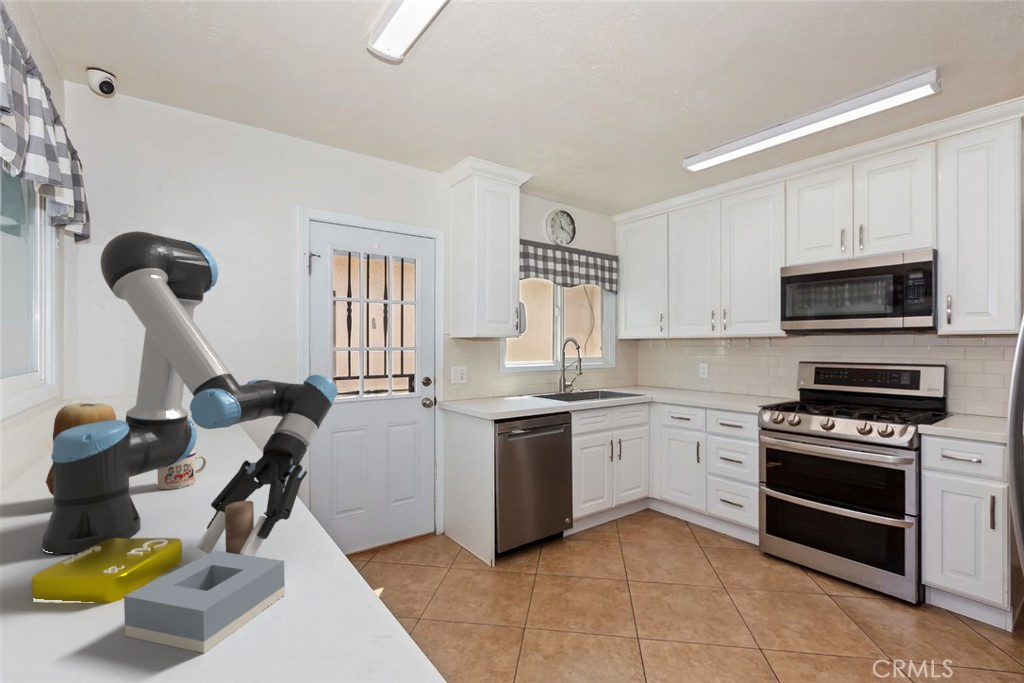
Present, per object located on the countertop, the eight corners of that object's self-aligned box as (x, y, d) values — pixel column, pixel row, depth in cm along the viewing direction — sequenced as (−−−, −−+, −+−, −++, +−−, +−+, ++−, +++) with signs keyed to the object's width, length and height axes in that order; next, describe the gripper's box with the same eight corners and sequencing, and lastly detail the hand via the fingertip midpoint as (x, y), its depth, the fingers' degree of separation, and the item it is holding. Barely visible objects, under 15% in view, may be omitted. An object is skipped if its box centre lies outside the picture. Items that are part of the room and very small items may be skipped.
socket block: (124, 635, 64) (124, 596, 64) (215, 583, 78) (214, 550, 78) (204, 653, 60) (203, 611, 60) (284, 595, 74) (284, 560, 74)
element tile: (109, 560, 88) (109, 534, 88) (187, 560, 87) (187, 534, 87) (23, 605, 73) (23, 575, 73) (117, 606, 72) (116, 575, 72)
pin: (220, 570, 82) (218, 508, 82) (240, 559, 86) (239, 499, 86) (240, 573, 81) (238, 510, 81) (260, 561, 85) (259, 501, 85)
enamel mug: (162, 492, 125) (161, 449, 125) (152, 486, 131) (151, 445, 131) (212, 481, 135) (211, 441, 135) (201, 476, 140) (200, 437, 140)
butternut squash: (114, 502, 118) (112, 404, 118) (40, 514, 110) (38, 409, 110) (121, 488, 129) (119, 398, 129) (54, 498, 122) (52, 403, 122)
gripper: (343, 453, 95) (287, 568, 80) (258, 448, 101) (191, 554, 86) (326, 432, 90) (262, 551, 75) (237, 428, 96) (161, 538, 81)
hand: (224, 553), depth 80 cm, fingers open, 9 cm apart
